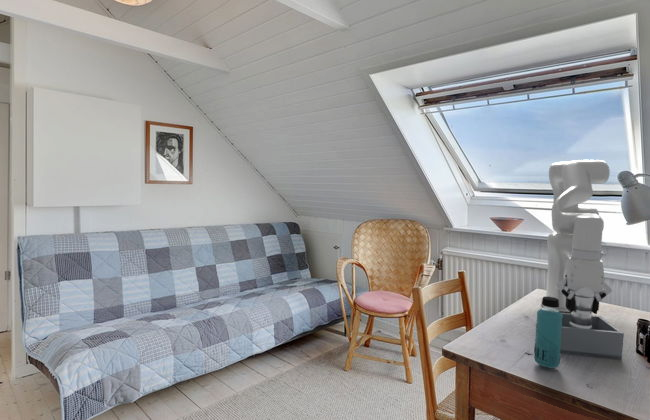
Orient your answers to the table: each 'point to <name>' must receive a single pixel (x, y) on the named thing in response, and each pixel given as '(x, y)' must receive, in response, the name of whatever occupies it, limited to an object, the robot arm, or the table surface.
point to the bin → (592, 339)
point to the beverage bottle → (548, 334)
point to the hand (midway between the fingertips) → (581, 310)
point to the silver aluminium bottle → (582, 308)
